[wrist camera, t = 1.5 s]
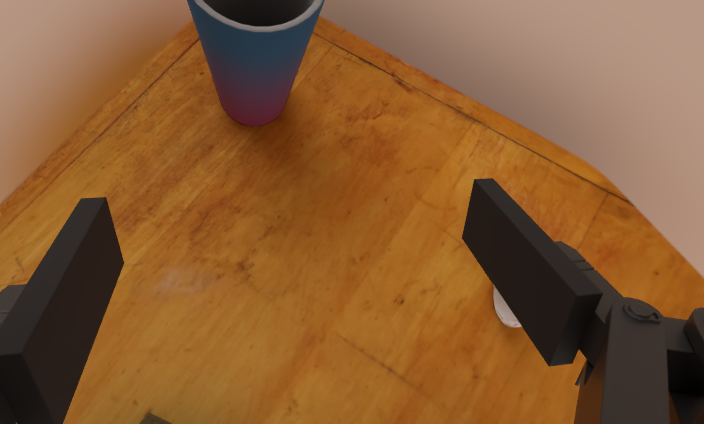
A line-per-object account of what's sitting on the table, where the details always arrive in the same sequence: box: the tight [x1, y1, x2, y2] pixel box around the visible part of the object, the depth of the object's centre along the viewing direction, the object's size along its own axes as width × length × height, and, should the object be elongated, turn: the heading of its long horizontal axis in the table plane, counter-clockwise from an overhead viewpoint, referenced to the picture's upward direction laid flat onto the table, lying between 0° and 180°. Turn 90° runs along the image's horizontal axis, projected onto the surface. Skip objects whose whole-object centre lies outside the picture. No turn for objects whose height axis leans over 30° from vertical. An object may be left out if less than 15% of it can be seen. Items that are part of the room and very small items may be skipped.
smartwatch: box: [493, 285, 522, 327], centre depth 35 cm, size 4×2×4 cm, turn 8°
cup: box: [187, 0, 324, 126], centre depth 27 cm, size 7×7×15 cm
